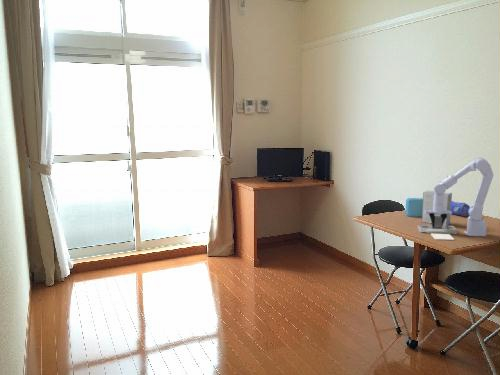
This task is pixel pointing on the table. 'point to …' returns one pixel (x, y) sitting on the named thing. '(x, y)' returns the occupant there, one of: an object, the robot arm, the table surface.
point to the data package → (414, 207)
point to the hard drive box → (428, 205)
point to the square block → (438, 222)
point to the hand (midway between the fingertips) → (437, 226)
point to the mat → (442, 236)
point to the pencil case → (459, 208)
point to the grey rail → (437, 229)
